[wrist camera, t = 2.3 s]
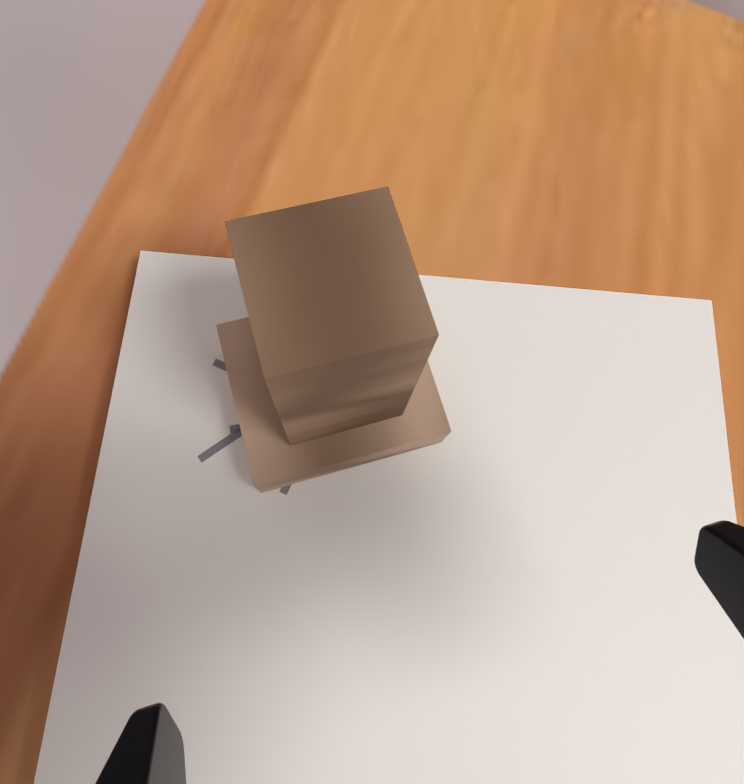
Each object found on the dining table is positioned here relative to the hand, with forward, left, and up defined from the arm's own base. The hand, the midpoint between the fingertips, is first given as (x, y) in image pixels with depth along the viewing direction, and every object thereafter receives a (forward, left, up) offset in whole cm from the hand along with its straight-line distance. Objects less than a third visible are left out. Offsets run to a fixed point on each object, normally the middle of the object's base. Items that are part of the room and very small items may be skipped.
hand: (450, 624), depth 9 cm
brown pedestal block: (+3, -7, -12) cm, 14 cm away
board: (-1, -2, -13) cm, 13 cm away
